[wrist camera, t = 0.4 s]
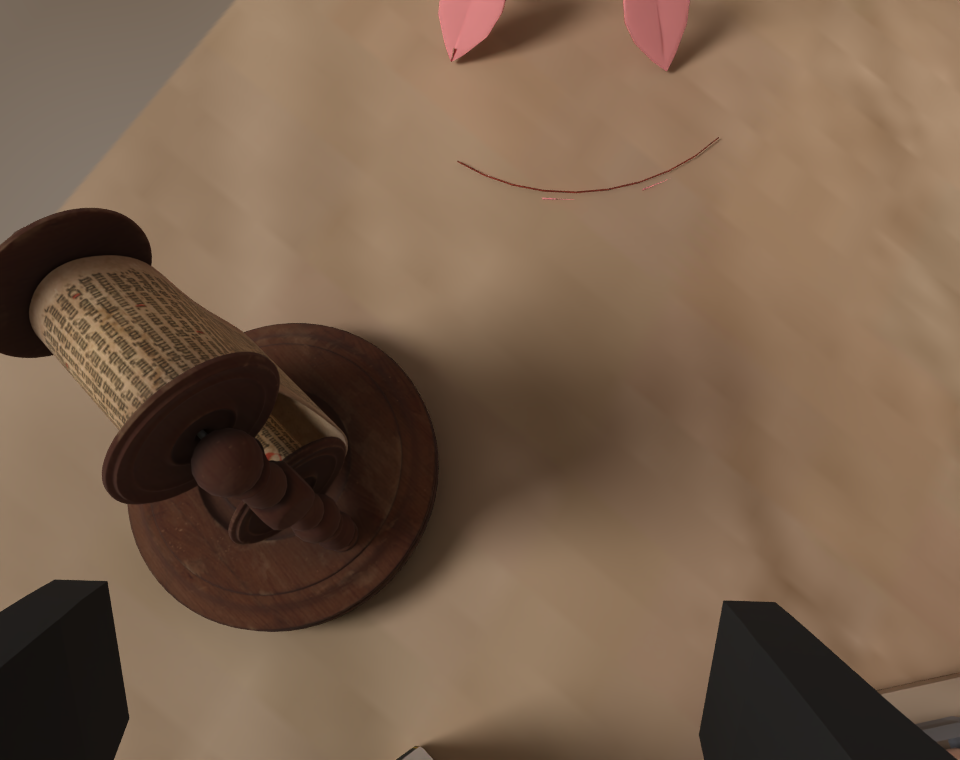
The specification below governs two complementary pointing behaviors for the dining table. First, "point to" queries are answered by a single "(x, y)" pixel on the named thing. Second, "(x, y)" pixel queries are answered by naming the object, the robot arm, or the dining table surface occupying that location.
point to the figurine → (648, 17)
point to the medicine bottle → (415, 754)
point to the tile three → (954, 752)
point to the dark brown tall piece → (228, 429)
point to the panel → (931, 707)
